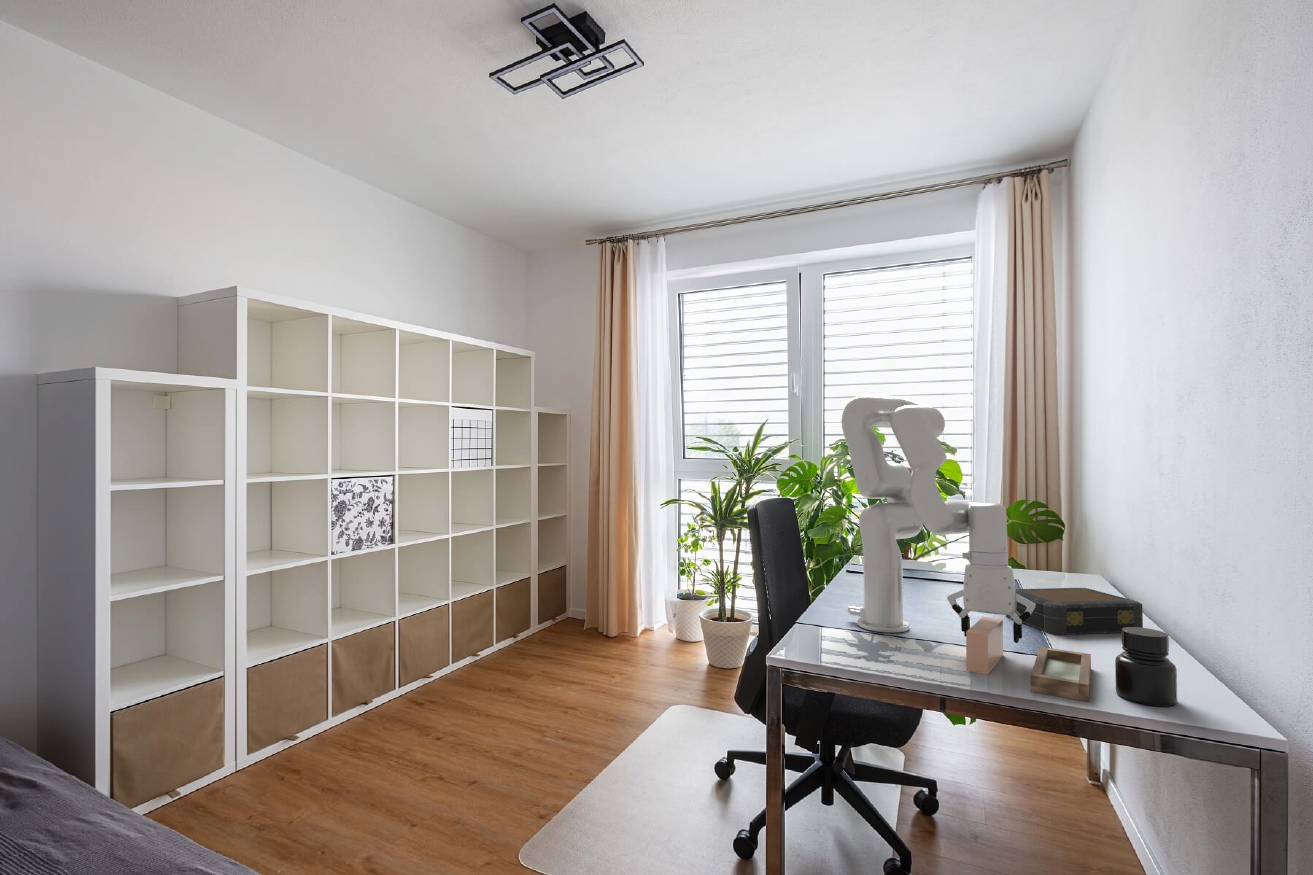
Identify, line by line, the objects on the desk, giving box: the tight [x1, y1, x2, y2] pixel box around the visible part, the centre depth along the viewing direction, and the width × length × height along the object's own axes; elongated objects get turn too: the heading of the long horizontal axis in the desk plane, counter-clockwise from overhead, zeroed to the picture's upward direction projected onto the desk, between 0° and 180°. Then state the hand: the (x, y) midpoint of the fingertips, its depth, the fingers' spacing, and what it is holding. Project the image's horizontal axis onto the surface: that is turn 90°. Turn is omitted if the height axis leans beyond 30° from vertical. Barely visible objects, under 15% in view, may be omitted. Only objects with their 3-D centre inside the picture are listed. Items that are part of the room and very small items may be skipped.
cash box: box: [1005, 587, 1144, 636], centre depth 171 cm, size 25×20×8 cm
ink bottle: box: [1114, 627, 1178, 707], centre depth 118 cm, size 10×9×12 cm
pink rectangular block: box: [965, 616, 1004, 675], centre depth 138 cm, size 4×16×8 cm, turn 142°
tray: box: [1030, 646, 1092, 703], centre depth 127 cm, size 9×22×3 cm, turn 145°
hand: (991, 638), depth 142 cm, fingers open, 9 cm apart
